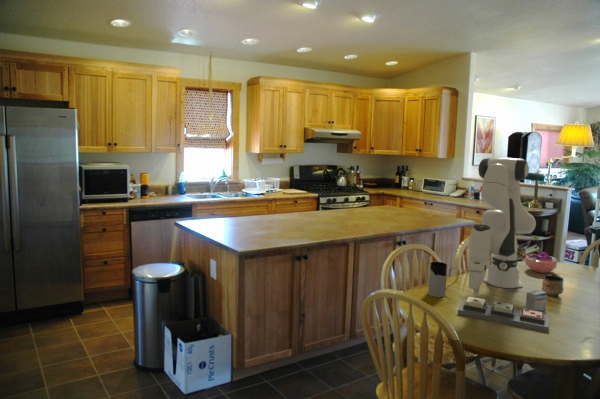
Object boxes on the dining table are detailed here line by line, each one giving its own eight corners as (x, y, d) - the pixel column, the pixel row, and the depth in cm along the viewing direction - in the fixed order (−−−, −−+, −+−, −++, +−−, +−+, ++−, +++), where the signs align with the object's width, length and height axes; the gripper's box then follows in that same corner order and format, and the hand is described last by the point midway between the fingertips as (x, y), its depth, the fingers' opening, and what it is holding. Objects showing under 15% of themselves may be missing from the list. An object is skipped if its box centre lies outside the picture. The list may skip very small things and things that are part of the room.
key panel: (463, 304, 202) (463, 296, 202) (548, 320, 186) (549, 312, 186) (457, 314, 190) (458, 306, 190) (548, 332, 174) (549, 323, 174)
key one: (468, 300, 198) (468, 296, 198) (485, 303, 194) (485, 299, 194) (465, 305, 192) (466, 300, 191) (483, 309, 188) (483, 304, 188)
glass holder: (425, 290, 221) (427, 261, 219) (455, 292, 219) (457, 262, 217) (429, 296, 212) (431, 265, 210) (459, 298, 210) (462, 267, 209)
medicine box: (534, 314, 193) (536, 295, 192) (524, 310, 197) (526, 291, 195) (545, 311, 196) (547, 292, 195) (536, 308, 200) (538, 289, 199)
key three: (523, 313, 187) (523, 308, 187) (541, 316, 184) (542, 311, 184) (522, 318, 181) (522, 313, 181) (541, 322, 178) (542, 317, 178)
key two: (495, 305, 193) (495, 301, 192) (512, 309, 189) (513, 304, 189) (493, 310, 186) (493, 306, 186) (511, 314, 183) (512, 309, 183)
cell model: (518, 271, 259) (519, 252, 257) (531, 265, 272) (533, 247, 271) (549, 278, 246) (551, 258, 245) (561, 271, 260) (563, 253, 259)
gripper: (474, 256, 201) (471, 286, 203) (467, 266, 183) (464, 299, 185) (489, 259, 198) (486, 289, 200) (483, 269, 180) (480, 302, 182)
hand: (476, 293), depth 192 cm, fingers closed
